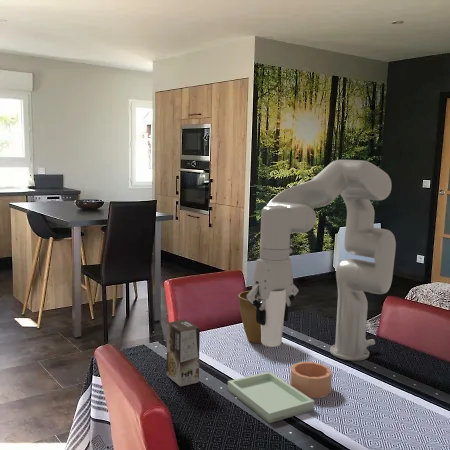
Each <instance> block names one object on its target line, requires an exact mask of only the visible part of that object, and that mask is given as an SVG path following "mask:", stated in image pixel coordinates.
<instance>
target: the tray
mask: <svg viewBox="0 0 450 450" xmlns="http://www.w3.org/2000/svg"><path fill="white" fill-rule="evenodd" d="M227 391H228V392H230V394H232V395H233V396H234V397H236V398H237V399H239V401H241V402H242V403H243V404H245V405H246V406H247V408H249V409H250V410H252V412H254V413H256V414H257V415H258V416H259V417H260V418H262V419H263V420H264V421H265V422H266V423H267V424H272V423H275V422H278V421H282V420H284V419H288V418H292V417H294V416H300V415H302V414H306V413H309V412H312V411H314V410H315V400H314V399H313V398H309V397H308V396H306V395H305V394H303V393H302V392H300V391H298V390H297V389H295V388H294V387H292V386H291V385H290V383H288V382H286V380H285V381H284V380H283V379H281V378H280V377H278V376H277V375H276V374H274V373H272V372H271V371H266V372H262V373H261V372H260V373H257V374H254V375H253V374H252V375H248V376H244V377H239V378H235V379H231V380H227Z"/></svg>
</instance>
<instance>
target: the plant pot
mask: <svg viewBox="0 0 450 450" xmlns="http://www.w3.org/2000/svg"><path fill="white" fill-rule="evenodd" d="M250 291H251V290H246V291H242V292H240V293H239V294H238V302H239V310H240V316H241V322H242V325H243V328H244V333H245V336H246V338H247V341H249V342H250V343H252V344H262V342H261V324H259V323H257V321H256V308H255V307H254V305H253V304H252V303H251V302H250V301H249V300H248V299H247V297H246V296H247V294H248V293H249V292H250ZM257 297H258V296H255V299H256V300H257Z"/></svg>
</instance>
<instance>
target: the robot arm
mask: <svg viewBox="0 0 450 450" xmlns="http://www.w3.org/2000/svg"><path fill="white" fill-rule="evenodd" d="M391 191H392V179H391V178H390V176H389V174H388V173H387V172H385V171H384V170H383V169H381V168H380V167H378V166H377V165H376V164H373V163H372V162H370V161H367V160H360V159H337V160H333V161H331V162H330V163H329V164H327V166H325V167H324V168H323V169H322V170H321V171H320V172H318V173H317V174H316V175H315V176H314V177H313V178H312V179H311V180H307V181H305V182H301V183H299V184H296V185H294V186H291V187H289V188H286V189H284V190H282V191H281V192H279V193H277V194H276V195H275V196H274V197H273V198H272V199H271V200H270V201H268V202H267V204H266V205H265V206H264V207H263V208H261V215H260V240H259V241H260V243H259V246H260V247H259V258H257V259H256V261H255V265H254V269H253V270H254V271H253V274H252V275H253V277H252V287H251V290H249V291H250V292H249V293H248V294H247V296H246V297H247V299H248V300H249V301H250V302H251V303H252V304H253V305H254V307H255V308H256V321H257V323H259V324H261V325H265V320H266V311H265V310H264V307H265V305H266V300H267V299H269V295H270V291H283V290H285V289H286V306H285V314H284V322H288V320H289V319H288V318H289V307H290V306H291V304H292V301H293V300H294V299H295V296H297V294H298V293H299V288H297V286H296V285H295V284H294V272H293V265H292V260H291V258H290V254H292V253H293V248H291V234H293V233H295V234H304V233H307V232H309V231H311V230H312V229H313V228H314V227H315V224H316V221H317V215H316V212H315V210H314V209H317V208H322V207H325V206H328V205H330V204H332V203H333V201H335V200H336V199H337V197H338V196H341V198H342V199H343V202H344V203H345V207H346V223H345V233H344V243H343V244H344V250H345V251H346V252H347V253H349V254H351V255H354V256H359V257H366V258H371V259H374V262H373V261H367V260H363V259H356V258H345V259H342V260H340V262H339V263H338V264H337V267H336V268H335V269H336V271H335V279H336V286H337V308H336V309H337V310H336V323H335V324H336V325H335V340H334V341H335V343H334V344H333V345H331V346H330V348H329V352H330V354H331V355H333V356H334V357H336V358H338V359H341V360H345V361H356V362H357V361H363V360H366V359H368V358H369V357H370V351H369V349H368V347H370V346H374V345H375V344H376V341H375V339H374V338H371V339H368V340H367V338H366V337H367V336H366V332H367V319H368V308H369V307H368V305H369V304H368V300H367V296H366V294H365V292H366V293H370V294H376V295H384V294H386V293H388V291H389V290H390V288H391V285H392V281H393V275H394V266H395V257H396V249H397V248H396V247H397V242H396V238H395V235H394V233H393V232H392V231H391V230H389V229H385V228H378V227H375V226H374V224H375V214H376V213H375V209H374V206H373V204H372V202H371V201H383V200H386V199H387V198H388V197H389V196H390V194H391ZM255 296H258V297H257V300H256V299H255ZM260 299H262V301H261V304H260Z"/></svg>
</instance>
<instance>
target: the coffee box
mask: <svg viewBox="0 0 450 450" xmlns="http://www.w3.org/2000/svg"><path fill="white" fill-rule="evenodd" d="M200 330H201V328H200V326H197V325H196V324H194V323H192V322H191V321H189V320H187V319H178V320H175V321H170V322H166V376H167V377H168V378H170V379H171V381H172V382H174V384H175V383H176V384H177V386H179V387H184V386H188V385H192V384H197V383H198V384H199V382H200V344H201V342H200V341H201V340H200V337H201V336H200V334H201V331H200Z"/></svg>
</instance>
